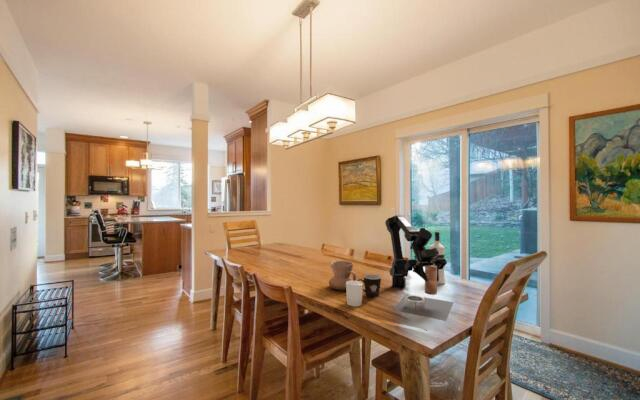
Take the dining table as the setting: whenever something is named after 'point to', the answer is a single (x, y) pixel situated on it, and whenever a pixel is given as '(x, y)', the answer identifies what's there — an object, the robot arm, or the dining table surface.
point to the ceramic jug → (341, 274)
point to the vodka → (440, 255)
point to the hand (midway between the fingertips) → (432, 281)
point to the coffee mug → (371, 285)
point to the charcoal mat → (428, 308)
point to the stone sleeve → (415, 303)
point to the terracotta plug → (431, 279)
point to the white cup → (354, 293)
